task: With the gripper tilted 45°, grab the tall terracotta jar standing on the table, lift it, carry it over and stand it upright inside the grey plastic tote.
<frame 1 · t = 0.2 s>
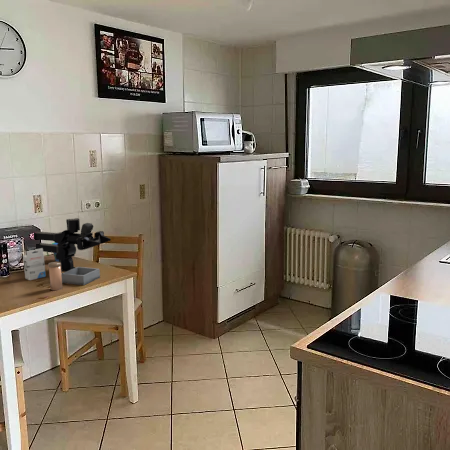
hand: (105, 241, 226), 17 cm above the table, tool horizontal, fingers open, 9 cm apart
jar: (56, 288, 207), on the table
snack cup: (62, 261, 256), on the table
ink box: (35, 278, 224), on the table
tote: (81, 280, 219), on the table
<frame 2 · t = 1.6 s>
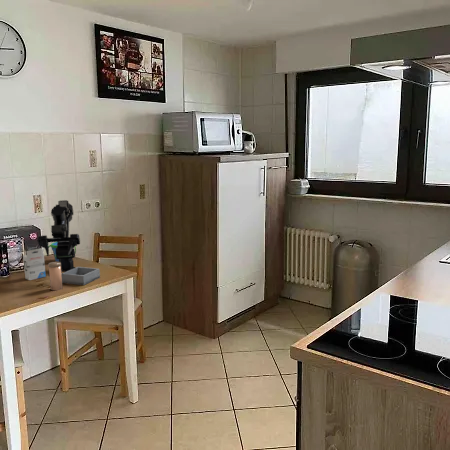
hand: (58, 255, 212), 14 cm above the table, tool tilted 45°, fingers open, 9 cm apart
nothing on the table moved.
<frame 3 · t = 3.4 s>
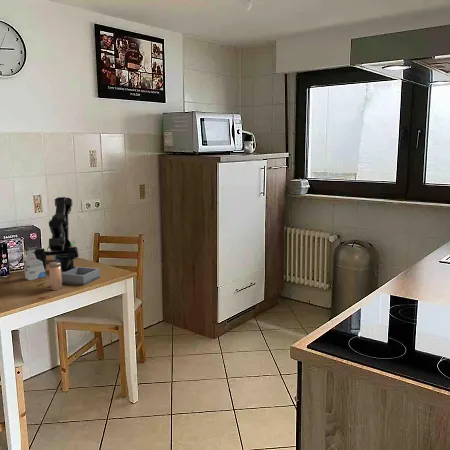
hand: (55, 268, 207), 9 cm above the table, tool tilted 45°, fingers open, 9 cm apart
nothing on the table moved.
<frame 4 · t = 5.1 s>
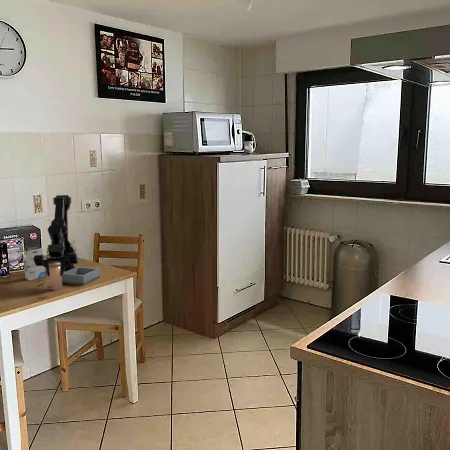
hand: (54, 275, 204), 7 cm above the table, tool tilted 45°, fingers closed on jar, 5 cm apart
jar: (56, 288, 207), on the table, touching gripper
everything else where it was.
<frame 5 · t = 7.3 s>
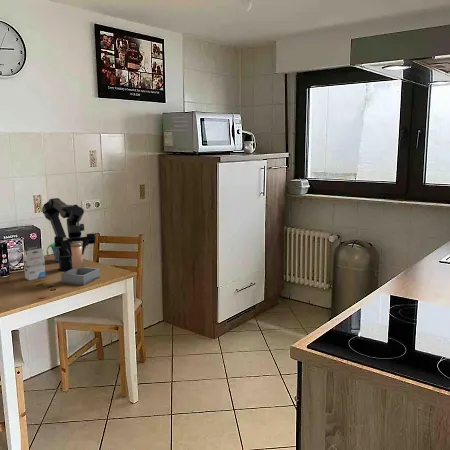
hand: (77, 254, 214), 13 cm above the table, tool tilted 45°, fingers closed on jar, 5 cm apart
jar: (77, 267, 216), point 7 cm above the table, touching gripper
everything else where it was.
when the fingers open (9 cm above the table, at t = 9.3 s): jar drops 1 cm, resting on tote.
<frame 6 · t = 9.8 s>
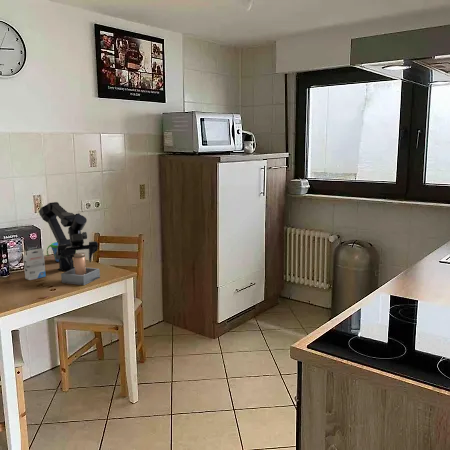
hand: (80, 263, 216), 9 cm above the table, tool tilted 45°, fingers open, 9 cm apart
jar: (81, 278, 219), point 1 cm above the table, touching tote
everything else where it was.
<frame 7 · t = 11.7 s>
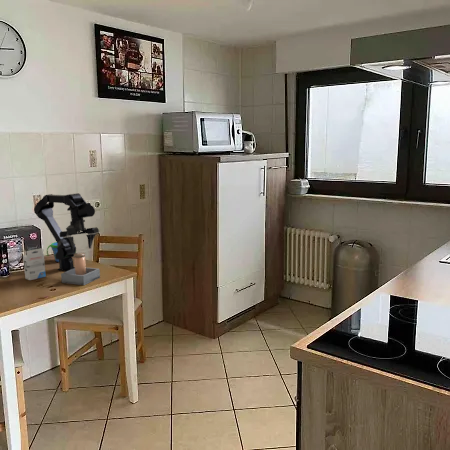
hand: (81, 249, 228), 13 cm above the table, tool pointing down, fingers open, 9 cm apart
nothing on the table moved.
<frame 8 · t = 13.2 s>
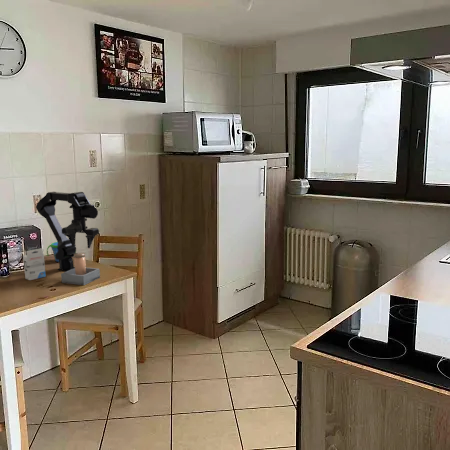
hand: (81, 247, 230), 13 cm above the table, tool pointing down, fingers open, 9 cm apart
nothing on the table moved.
at the end: jar inside the target area on the tote (0.0 cm from its centre), point 1.0 cm above the tote's base; jar tilted 1°; the gripper is holding nothing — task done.
